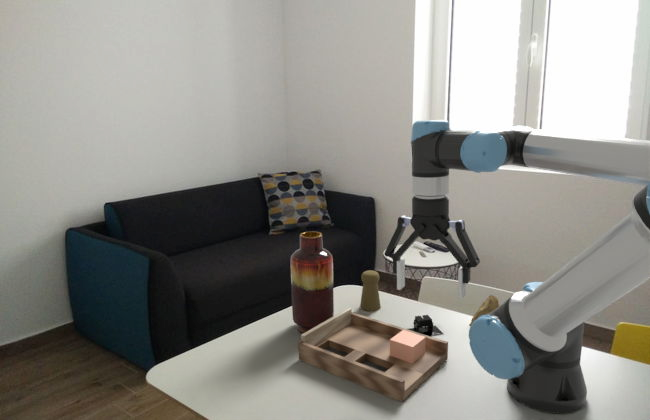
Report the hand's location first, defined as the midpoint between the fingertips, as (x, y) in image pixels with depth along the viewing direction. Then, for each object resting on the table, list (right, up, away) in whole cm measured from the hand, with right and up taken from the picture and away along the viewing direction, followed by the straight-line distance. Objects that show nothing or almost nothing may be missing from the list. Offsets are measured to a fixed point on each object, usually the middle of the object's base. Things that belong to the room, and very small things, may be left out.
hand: (430, 292), depth 110 cm
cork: (-9, -11, +39) cm, 42 cm away
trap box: (-12, -17, +10) cm, 23 cm away
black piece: (+3, -15, +24) cm, 28 cm away
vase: (-26, -14, +27) cm, 40 cm away
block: (-4, -16, +8) cm, 18 cm away
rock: (+18, -15, +21) cm, 32 cm away
